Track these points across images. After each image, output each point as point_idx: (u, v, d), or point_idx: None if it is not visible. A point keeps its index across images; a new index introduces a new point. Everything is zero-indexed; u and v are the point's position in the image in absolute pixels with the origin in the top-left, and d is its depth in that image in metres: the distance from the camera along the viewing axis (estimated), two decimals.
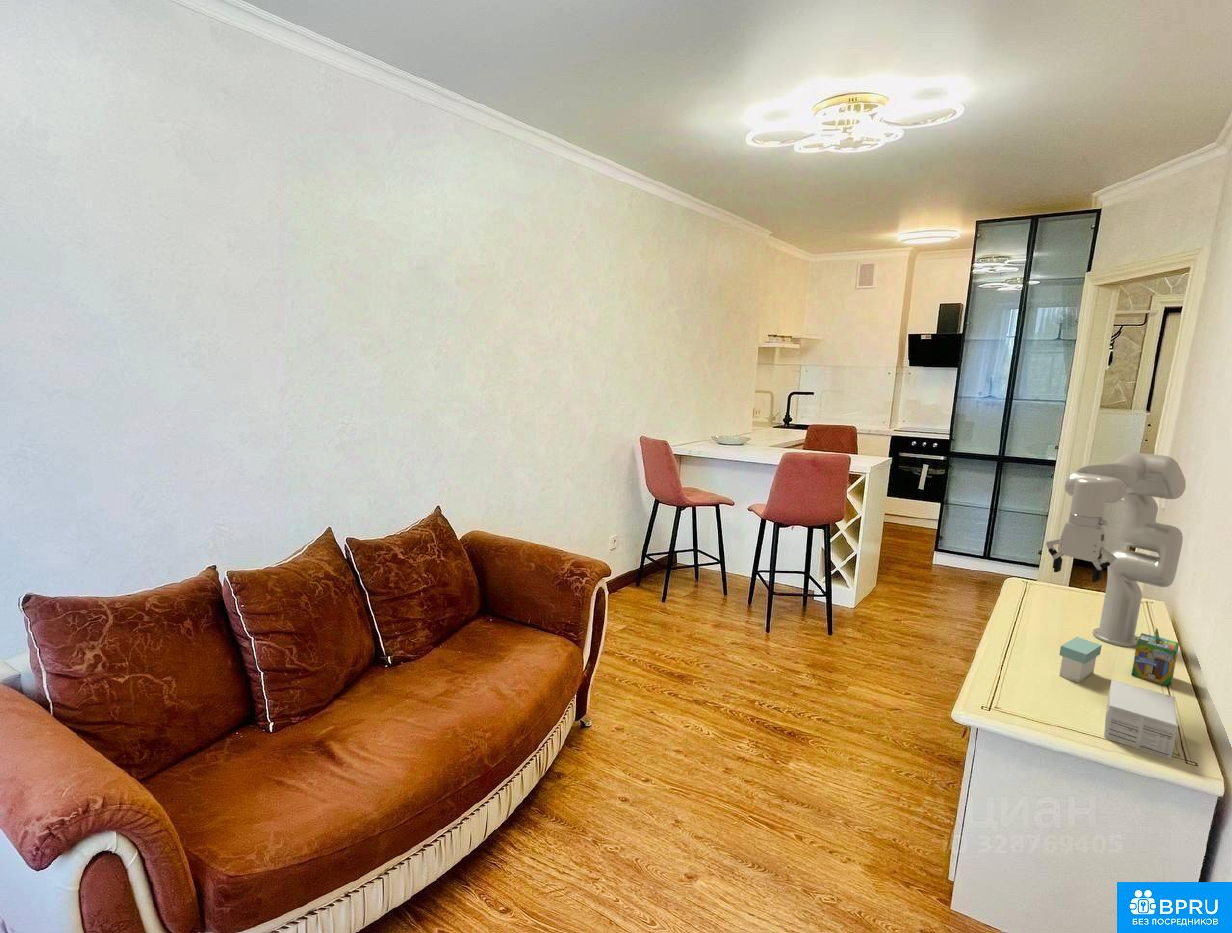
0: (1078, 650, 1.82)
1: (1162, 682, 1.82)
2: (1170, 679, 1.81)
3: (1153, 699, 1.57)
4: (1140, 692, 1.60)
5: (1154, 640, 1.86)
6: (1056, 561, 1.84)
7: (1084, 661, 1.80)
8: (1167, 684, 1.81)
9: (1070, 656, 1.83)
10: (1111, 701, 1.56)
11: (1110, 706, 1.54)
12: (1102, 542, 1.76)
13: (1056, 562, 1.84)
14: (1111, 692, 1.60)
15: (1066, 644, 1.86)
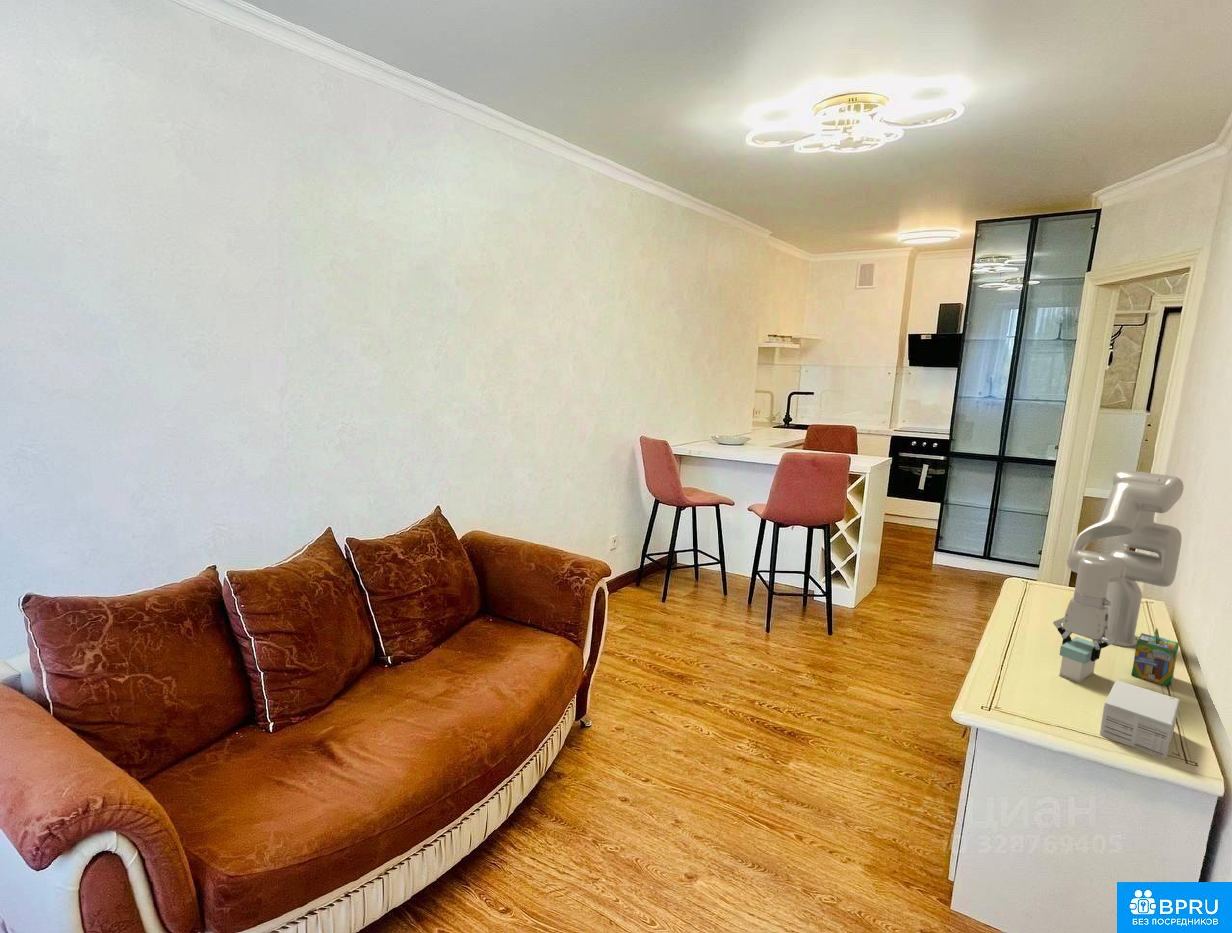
0: (1078, 650, 1.82)
1: (1162, 682, 1.82)
2: (1170, 679, 1.81)
3: (1155, 700, 1.56)
4: (1143, 693, 1.60)
5: (1154, 640, 1.86)
6: (1065, 641, 1.88)
7: (1084, 661, 1.80)
8: (1167, 684, 1.81)
9: (1070, 656, 1.83)
10: (1108, 699, 1.57)
11: (1106, 703, 1.55)
12: (1106, 622, 1.80)
13: (1065, 642, 1.88)
14: (1111, 691, 1.61)
15: (1066, 644, 1.86)
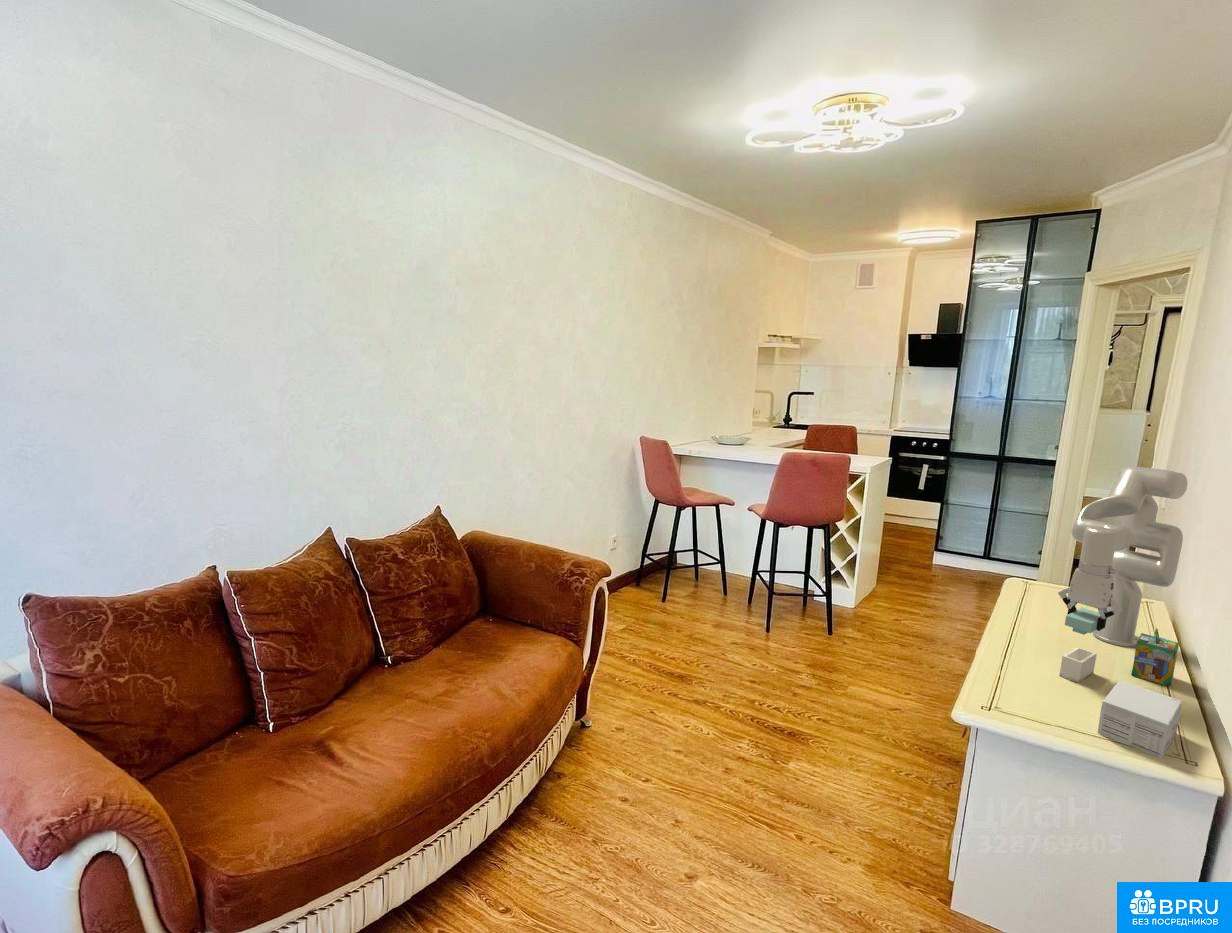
0: (1083, 619, 1.81)
1: (1162, 682, 1.82)
2: (1170, 679, 1.81)
3: (1155, 701, 1.56)
4: (1145, 693, 1.60)
5: (1154, 640, 1.86)
6: (1070, 611, 1.86)
7: (1090, 630, 1.79)
8: (1167, 684, 1.81)
9: (1075, 626, 1.82)
10: (1106, 698, 1.57)
11: (1103, 702, 1.56)
12: (1112, 590, 1.78)
13: (1070, 612, 1.86)
14: (1111, 690, 1.61)
15: (1071, 614, 1.84)
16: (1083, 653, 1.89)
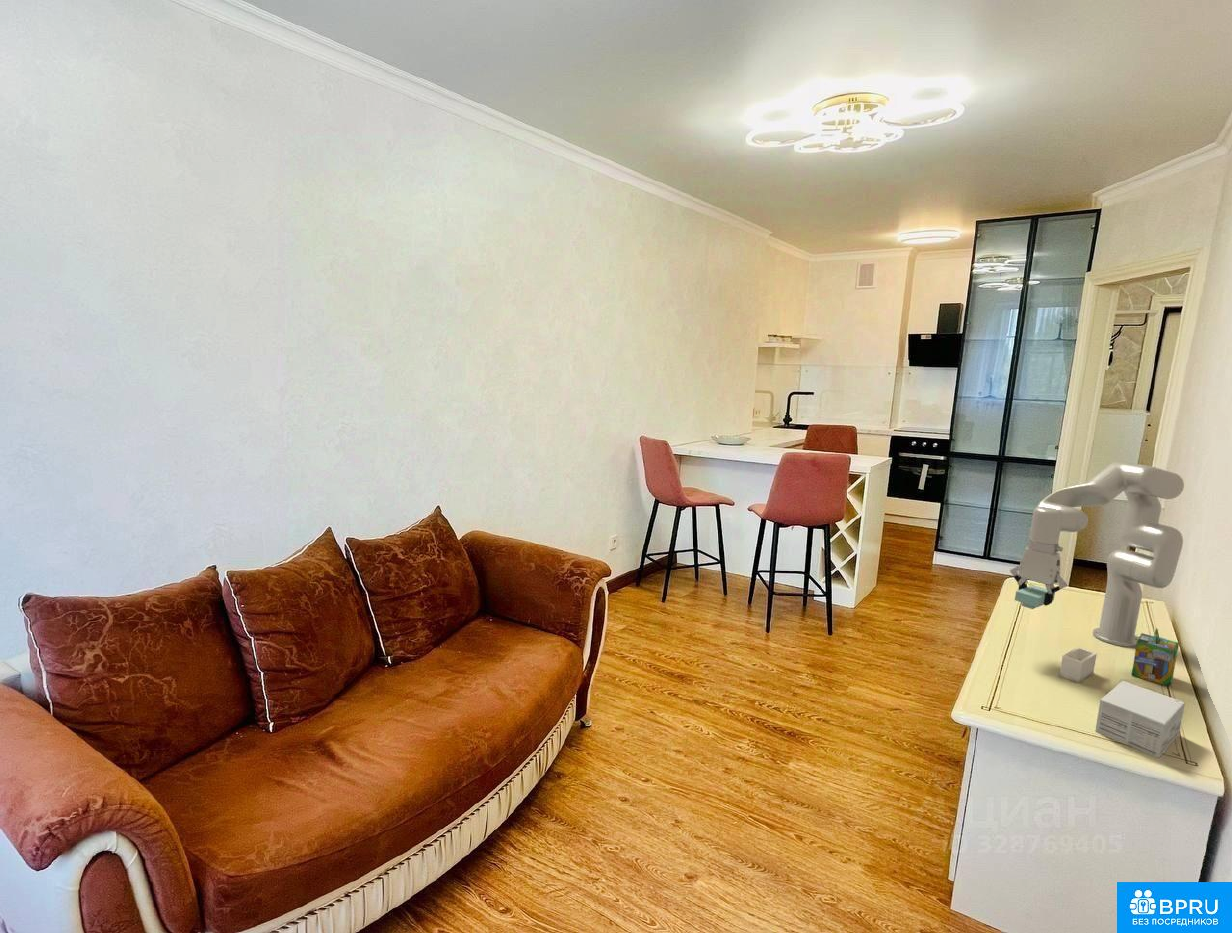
0: (1032, 594, 1.91)
1: (1162, 682, 1.82)
2: (1170, 679, 1.81)
3: (1156, 701, 1.56)
4: (1146, 694, 1.59)
5: (1154, 640, 1.86)
6: (1021, 587, 1.97)
7: (1037, 604, 1.89)
8: (1167, 684, 1.81)
9: (1024, 600, 1.92)
10: (1105, 697, 1.58)
11: (1101, 700, 1.57)
12: (1058, 567, 1.89)
13: (1021, 588, 1.97)
14: (1112, 690, 1.61)
15: (1021, 590, 1.95)
16: (1083, 653, 1.89)
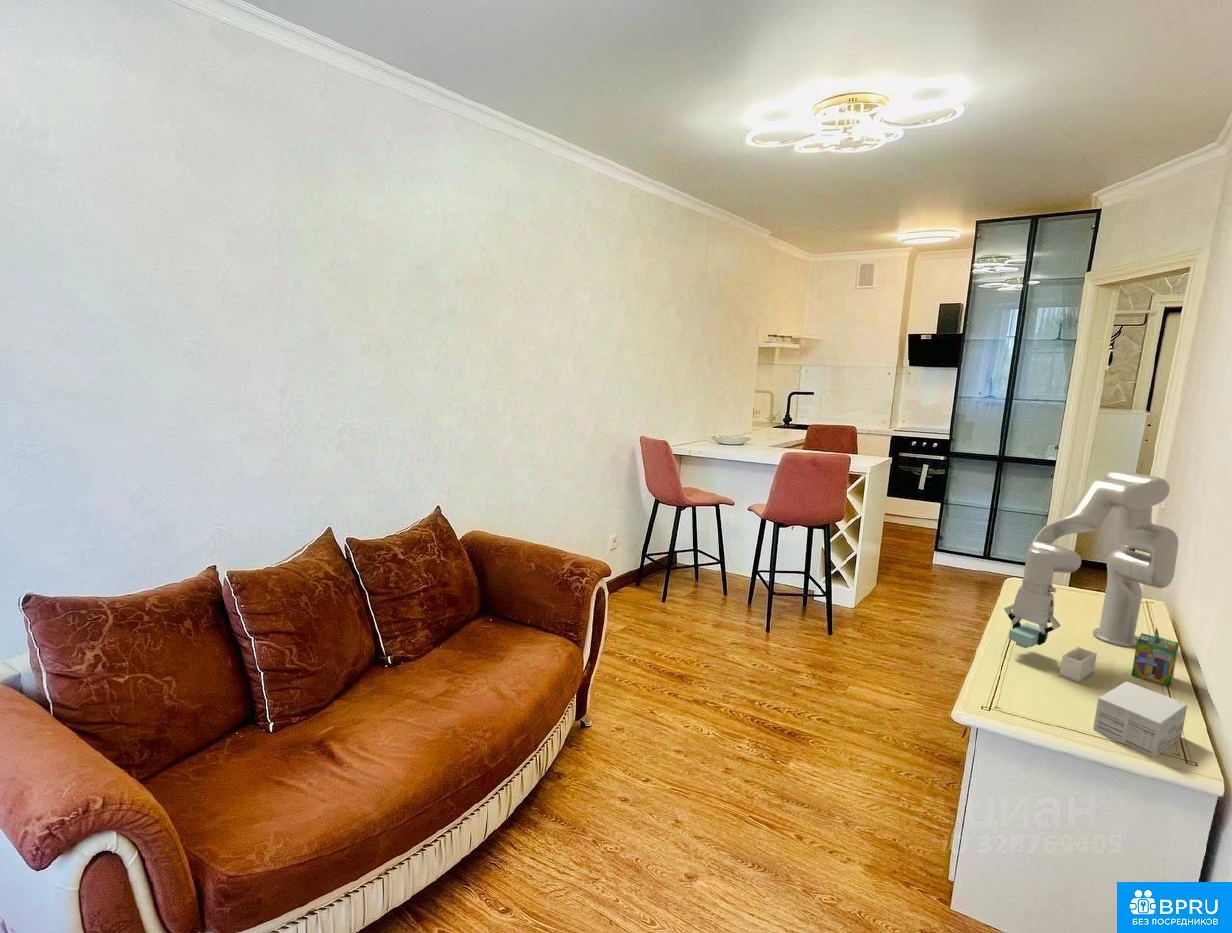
0: (1025, 634, 1.94)
1: (1162, 682, 1.82)
2: (1170, 679, 1.81)
3: (1157, 702, 1.56)
4: (1148, 695, 1.59)
5: (1154, 640, 1.86)
6: (1015, 626, 1.99)
7: (1030, 644, 1.92)
8: (1167, 684, 1.81)
9: (1018, 640, 1.95)
10: (1104, 695, 1.59)
11: (1099, 699, 1.58)
12: (1051, 608, 1.91)
13: (1015, 627, 1.99)
14: (1113, 689, 1.62)
15: (1015, 629, 1.97)
16: (1083, 653, 1.89)
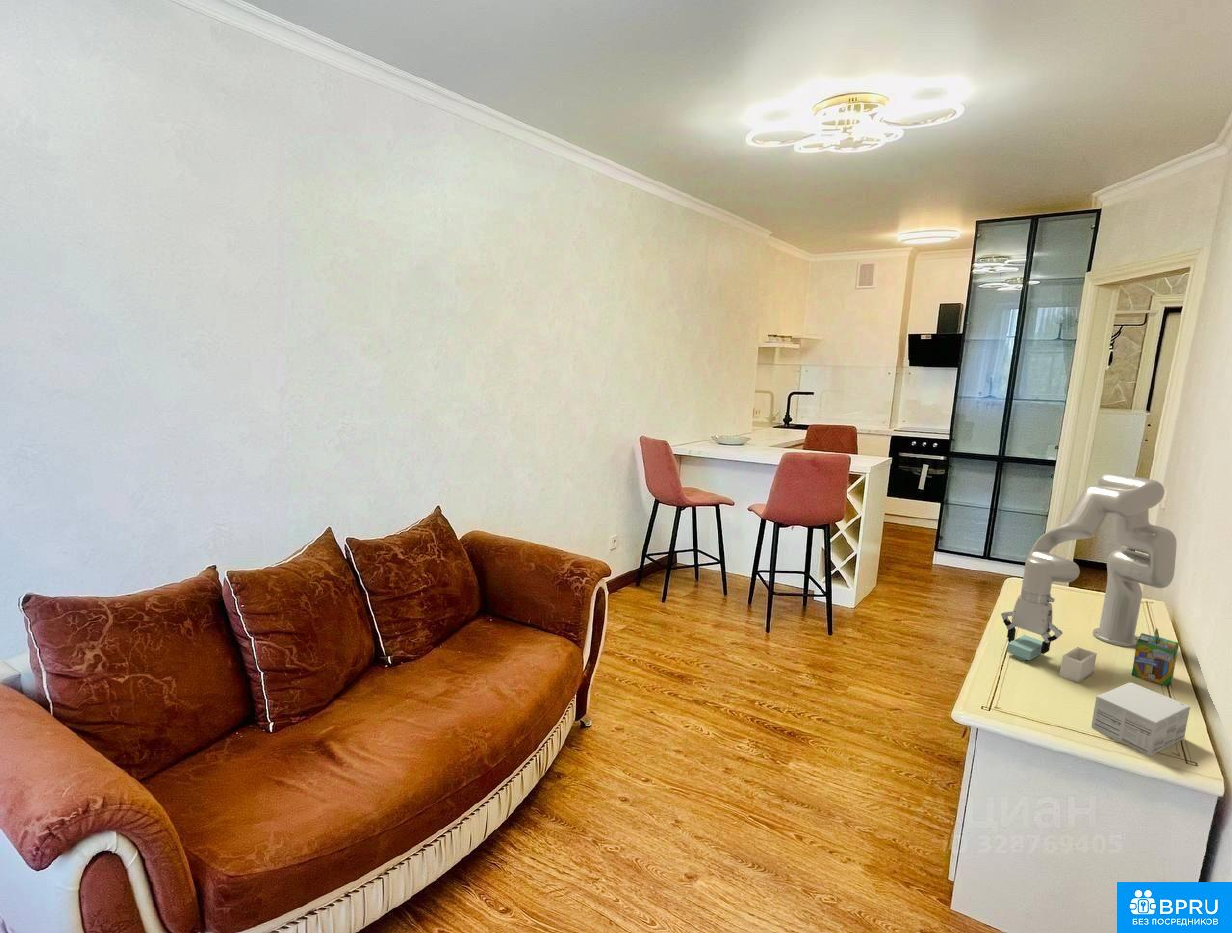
0: (1024, 647, 1.94)
1: (1162, 682, 1.82)
2: (1170, 679, 1.81)
3: (1157, 702, 1.55)
4: (1150, 695, 1.59)
5: (1154, 640, 1.86)
6: (1010, 632, 2.01)
7: (1029, 657, 1.93)
8: (1167, 684, 1.81)
9: (1016, 653, 1.95)
10: (1103, 694, 1.59)
11: (1097, 697, 1.58)
12: (1050, 617, 1.92)
13: (1010, 632, 2.01)
14: (1114, 689, 1.62)
15: (1013, 642, 1.98)
16: (1083, 653, 1.89)
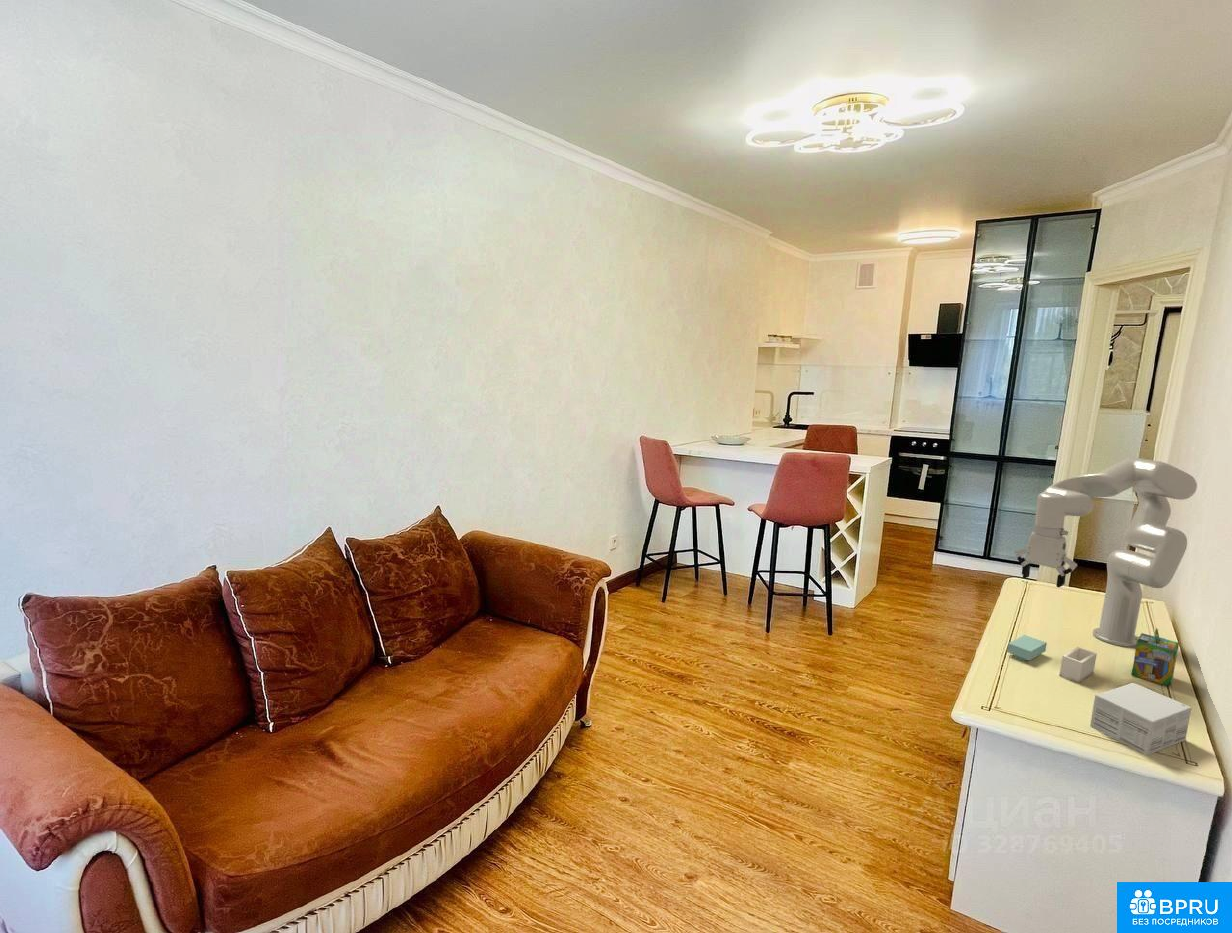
0: (1024, 647, 1.94)
1: (1162, 682, 1.82)
2: (1170, 679, 1.81)
3: (1158, 703, 1.55)
4: (1151, 696, 1.58)
5: (1154, 640, 1.86)
6: (1024, 568, 2.02)
7: (1029, 658, 1.93)
8: (1167, 684, 1.81)
9: (1016, 653, 1.95)
10: (1102, 693, 1.60)
11: (1095, 696, 1.59)
12: (1064, 550, 1.93)
13: (1024, 569, 2.02)
14: (1114, 689, 1.62)
15: (1013, 642, 1.98)
16: (1083, 653, 1.89)
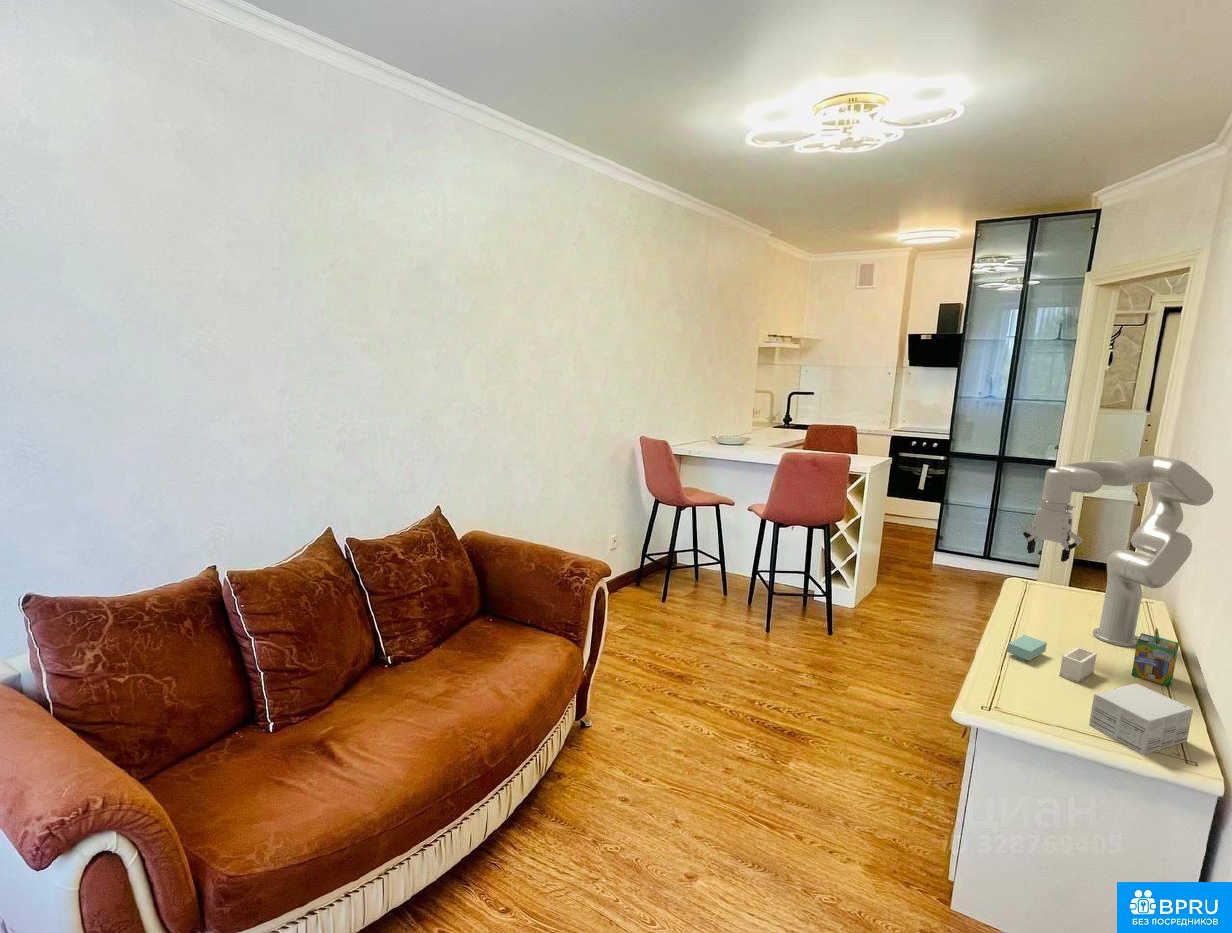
0: (1024, 647, 1.94)
1: (1162, 682, 1.82)
2: (1170, 679, 1.81)
3: (1158, 703, 1.55)
4: (1152, 696, 1.58)
5: (1154, 640, 1.86)
6: (1030, 543, 2.05)
7: (1029, 658, 1.93)
8: (1167, 684, 1.81)
9: (1016, 653, 1.95)
10: (1102, 692, 1.60)
11: (1094, 694, 1.59)
12: (1070, 525, 1.97)
13: (1030, 544, 2.05)
14: None
15: (1013, 642, 1.98)
16: (1083, 653, 1.89)
